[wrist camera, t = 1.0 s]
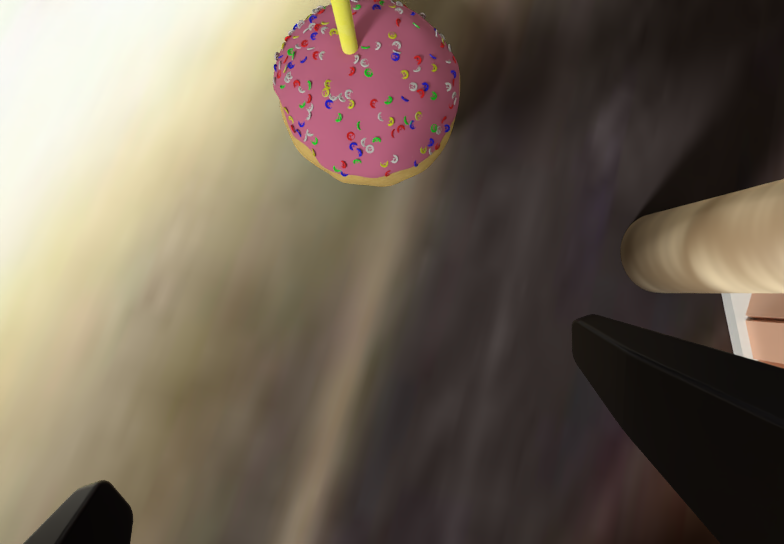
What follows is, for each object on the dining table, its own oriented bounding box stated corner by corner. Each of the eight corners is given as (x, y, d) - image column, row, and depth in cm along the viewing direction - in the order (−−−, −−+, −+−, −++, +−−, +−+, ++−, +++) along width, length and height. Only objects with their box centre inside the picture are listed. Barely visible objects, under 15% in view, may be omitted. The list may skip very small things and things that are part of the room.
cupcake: (260, 145, 23) (162, -10, 11) (346, 27, 24) (339, -234, 12) (387, 232, 24) (422, 171, 12) (468, 114, 24) (578, -57, 12)
